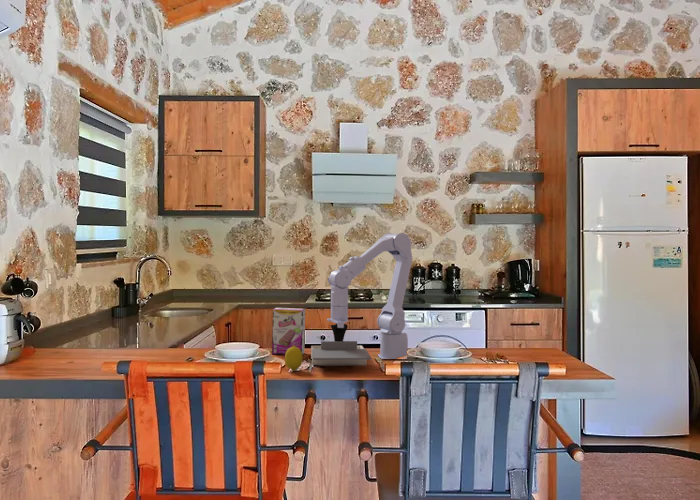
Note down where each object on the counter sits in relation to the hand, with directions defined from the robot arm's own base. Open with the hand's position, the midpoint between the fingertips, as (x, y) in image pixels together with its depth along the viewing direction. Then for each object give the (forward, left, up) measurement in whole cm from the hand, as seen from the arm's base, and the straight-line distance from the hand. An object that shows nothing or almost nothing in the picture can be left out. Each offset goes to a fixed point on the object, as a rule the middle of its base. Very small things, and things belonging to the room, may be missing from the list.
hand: (338, 346), depth 190 cm
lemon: (+15, +12, -6) cm, 20 cm away
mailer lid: (0, +9, -1) cm, 9 cm away
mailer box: (0, -2, -6) cm, 6 cm away
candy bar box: (+17, -15, -6) cm, 24 cm away
